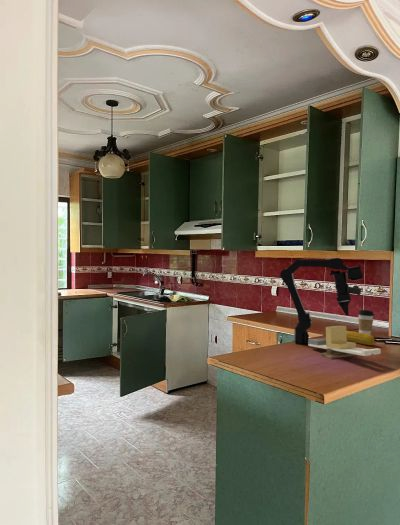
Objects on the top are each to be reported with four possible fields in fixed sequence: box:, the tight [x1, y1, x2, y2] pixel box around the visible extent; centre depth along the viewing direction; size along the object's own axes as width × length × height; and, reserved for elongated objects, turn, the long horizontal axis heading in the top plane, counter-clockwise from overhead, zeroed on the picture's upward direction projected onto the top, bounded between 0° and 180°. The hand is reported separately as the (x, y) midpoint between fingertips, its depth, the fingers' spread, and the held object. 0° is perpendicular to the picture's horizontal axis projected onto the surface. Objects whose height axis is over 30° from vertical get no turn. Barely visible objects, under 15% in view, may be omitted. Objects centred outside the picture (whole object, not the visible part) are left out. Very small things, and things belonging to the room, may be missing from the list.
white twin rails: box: [307, 337, 382, 357], centre depth 173 cm, size 32×10×3 cm, turn 28°
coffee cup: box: [357, 309, 375, 336], centre depth 219 cm, size 8×8×15 cm
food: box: [346, 330, 375, 346], centre depth 203 cm, size 21×6×6 cm, turn 37°
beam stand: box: [320, 348, 356, 360], centre depth 174 cm, size 6×16×4 cm, turn 118°
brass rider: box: [325, 325, 357, 349], centre depth 174 cm, size 8×10×10 cm
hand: (347, 314), depth 188 cm, fingers open, 9 cm apart
